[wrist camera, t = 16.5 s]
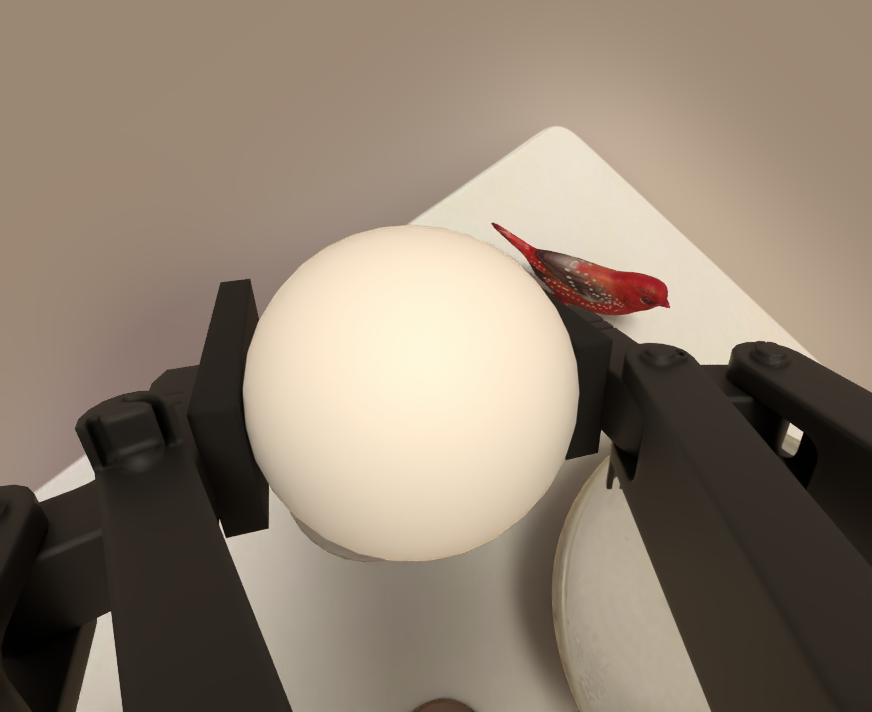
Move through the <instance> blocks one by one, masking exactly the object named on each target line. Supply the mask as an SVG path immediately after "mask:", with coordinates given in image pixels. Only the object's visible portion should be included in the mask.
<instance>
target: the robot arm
mask: <svg viewBox="0 0 872 712" xmlns="http://www.w3.org/2000/svg"><path fill="white" fill-rule="evenodd" d="M540 287H541V286H540ZM541 288H542V287H541ZM542 290H543V291H544V292H545V294H546V295H547V296H548V298H549V299H550V301H551V302H552V303H553V305H554V306H555V307H556V309H557V311H558V313H559V315H560V317H561V319H562V322H563V324H564V326H565V328H566V330H567V332H568V334H569V337H570V341H571V344H572V348H573V351H574V355H575V358H576V362H577V372H578V383H579V400H578V409H577V418H576V425H575V428H574V432H573V435H572V438H571V442H570V445H569V448H568V451H567V454H566V457H565V459H566V460H569V459H573V458H578V457H582V456H586V455H591V454H595V453H598V449H599V441H600V434H601V430H602V431H603V432H604V433H605V434H606V435H607V436H608V437H609V438H610V439H611V440H612V445H611V452H610V459H609V466H608V472H607V479H606V487H607V489H612V486H613V480H614V479H615V478H616V477H617V478H618V481H619V483H620V487H619V489H622V491H623V493H624V496H625V498H626V501H627V503H628V506H629V508H630V511H631V513H632V516H633V518H634V521H635V523H636V526H637V528H638V531H639V533H640V536H641V538H642V541H643V543H644V545H645V548H646V550H647V553H648V555H649V558H650V560H651V563H652V565H653V568H654V570H655V573H656V575H657V578H658V580H659V583H660V585H661V588H662V590H663V593H664V595H665V598H666V600H667V603H668V605H669V608H670V610H671V613H672V615H673V618H674V620H675V623H676V625H677V628H678V630H679V633H680V635H681V638H682V640H683V643H684V645H685V648H686V650H687V653H688V655H689V658H690V660H691V663H692V665H693V668H694V670H695V673H696V675H697V678H698V680H699V683H700V685H701V688H702V690H703V693H704V695H705V698H706V700H707V703H708V705H709V708H710V710H711V712H872V393H871V392H870V391H868V390H866V389H864V388H862V387H860V386H859V385H857V384H855V383H853V382H851V381H850V380H848V379H846V378H844V377H842V376H841V375H839V374H837V373H835V372H833V371H832V370H830V369H828V368H826V367H824V366H822V365H821V364H819V363H817V362H815V361H813V360H812V359H810V358H808V357H806V356H804V355H803V354H801V353H799V352H797V351H794V350H792V349H790V348H787V347H784V346H780V345H778V344H776V343H773V342H767V343H766V342H765V341H757V342H745V343H742V344H738V345H736V346H735V347H734V348H733V349H732V352H731V356H730V360H729V364H728V365H700V364H699V363H698V362H697V361H696V360H695V358H694V357H693V356H691V355H690V354H689V353H687V352H686V351H684V350H683V349H679V348H677V347H674V346H670V345H665V344H658V343H644V344H638V343H637V342H635V341H634V340H632V339H631V338H629V337H628V336H627V335H625V334H624V333H622V332H621V331H619V330H618V329H616V328H613V326H612V325H611V324H609V323H608V322H606V321H603V319H602V318H601V317H599V316H598V315H596V314H595V313H594V312H592V311H590V310H587V309H584V308H582V307H579V306H576V305H569V306H566V305H565V304H564V303H562V302H561V301H560V300H558V299H557V298H556V297H554V296H553V295H551V294H550V293H549V292H547V291H546V290H545V289H543V288H542ZM258 322H259V318H258V313H257V308H256V303H255V299H254V294H253V290H252V285H251V281H250V279H245V280H237V281H229V282H221V283H220V287H219V291H218V294H217V298H216V303H215V306H214V310H213V314H212V318H211V322H210V325H209V329H208V333H207V337H206V341H205V345H204V349H203V353H202V357H201V361H200V364H199V365H196V366H189V367H183V368H177V369H171V370H166V371H165V372H164V373H163V374H162V375H161V376H160V377H159V378H157V379H156V380H155V381H154V382H153V383H152V385H151V387H150V390H149V391H137V392H132V393H127V394H123V395H119V396H116V397H114V398H111V399H108V400H106V401H103V402H101V403H100V404H98V405H96V406H95V407H93V408H91V409H89V410H88V411H87V412H86V413H85V414H84V415H83V416H82V417H80V418H79V419H78V422H77V424H76V427H75V430H76V432H77V435H78V437H79V439H80V441H81V443H82V446H83V448H84V450H85V452H86V455H87V457H88V459H89V461H90V463H91V466H92V468H93V470H94V472H95V480H93V481H92V482H90V483H88V484H86V485H83V486H81V487H79V488H76V489H74V490H72V491H69V492H66V493H64V494H61V495H58V496H56V497H53V498H50V499H48V500H45V501H42V502H38V500H37V498H36V496H35V494H34V493H33V492H32V491H31V490H30V489H29V488H28V487H25V486H19V485H8V486H0V712H76V708H77V704H78V699H79V695H80V691H81V687H82V683H83V678H84V674H85V670H86V666H87V662H88V658H89V653H90V649H91V645H92V641H93V637H94V633H95V628H96V624H97V618H98V617H100V616H102V615H104V614H106V613H108V612H110V611H111V614H112V623H113V631H114V640H115V648H116V656H117V665H118V673H119V681H120V690H121V698H122V707H123V712H293V711H292V709H291V706H290V704H289V701H288V699H287V696H286V694H285V691H284V689H283V686H282V684H281V681H280V679H279V676H278V673H277V671H276V668H275V666H274V663H273V661H272V658H271V656H270V653H269V651H268V648H267V646H266V643H265V641H264V638H263V636H262V633H261V630H260V628H259V625H258V623H257V620H256V618H255V615H254V613H253V610H252V608H251V605H250V603H249V600H248V598H247V595H246V593H245V590H244V587H243V585H242V582H241V580H240V577H239V575H238V572H237V570H236V567H235V565H234V562H233V560H232V557H231V555H230V552H229V550H228V547H227V544H226V542H225V539H224V537H223V534H222V532H221V529H220V527H219V519H220V521H221V524H222V527H223V530H224V533H225V536H226V538H229V537H233V536H237V535H242V534H246V533H250V532H255V531H259V530H263V529H268V528H269V483H268V482H267V480H266V478H265V476H264V474H263V473H262V471H261V469H260V467H259V466H258V464H257V462H256V460H255V457H254V454H253V450H252V447H251V444H250V441H249V438H248V434H247V431H246V427H245V417H244V405H243V384H244V376H245V368H246V360H247V353H248V350H249V347H250V344H251V341H252V338H253V335H254V333H255V330H256V327H257V324H258ZM790 423H791V424H793V425H794V426H796V427H797V428H798V429H800V430H801V431H803V432H804V433H803V436H802V439H801V441H800V444H799V447H798V450H797V452H796V453H795V455H794V456H793V455H791V454H789V453H788V452H786V451H785V450H784V449H782V445H783V442H784V439H785V436H786V433H787V430H788V427H789V424H790Z"/></svg>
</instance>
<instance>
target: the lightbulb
mask: <svg viewBox="0 0 872 712" xmlns="http://www.w3.org/2000/svg"><path fill="white" fill-rule="evenodd" d="M578 400H579V383H578V372H577V362H576V358H575V355H574V351H573V348H572V344H571V341H570V337H569V334H568V332H567V330H566V328H565V326H564V324H563V322H562V319H561V317H560V315H559V313H558V311H557V309H556V307H555V306H554V305H553V303H552V302H551V301H550V299H549V298H548V296H547V295H546V294H545V292H544V291H543V290H542V288H541V287H540V285H539V284H538V283H537V282H536V281H535V280H534V279H533V278H532V277H531V276H530V275H529V274H528V273H527V272H526V271H525V270H524V269H523V268H522V267H521V266H520V265H519V264H518V263H517V262H515V261H514V260H513V259H511V258H510V257H508V256H507V255H505V254H504V253H502V252H501V251H499V250H498V249H497V248H495V247H494V246H491V245H489V244H487V243H485V242H483V241H481V240H478V239H476V238H474V237H472V236H470V235H467V234H463V233H459V232H456V231H452V230H448V229H445V228H439V227H428V226H418V225H405V226H392V227H381V228H377V229H373V230H369V231H365V232H361V233H358V234H354V235H351V236H349V237H347V238H345V239H342V240H340V241H338V242H336V243H334V244H332V245H330V246H328V247H326V248H324V249H323V250H321V251H320V252H319V253H317V254H316V255H314V256H313V257H312V258H310V259H309V260H308V261H306V262H305V263H303V264H302V265H301V266H300V267H299V268H298V269H297V270H296V271H295V272H294V273H293V274H292V276H291V277H290V278H289V279H288V280H287V281H286V282H285V283H284V284H283V285H282V286H281V288H280V289H279V290H278V291H277V293H276V294H275V295H274V297H273V298H272V300H271V302H270V304H269V305H268V307H267V309H266V310H265V312H264V313H263V315H262V317H261V318H260V320H259V322H258V324H257V327H256V330H255V333H254V335H253V338H252V341H251V344H250V347H249V350H248V353H247V360H246V368H245V376H244V384H243V405H244V417H245V427H246V431H247V434H248V438H249V441H250V444H251V447H252V450H253V454H254V457H255V460H256V462H257V464H258V466H259V467H260V469H261V471H262V473H263V474H264V476H265V478H266V480H267V482H268V483H269V485H270V487H271V489H272V490H273V492H274V493H275V494H276V495H277V496H278V497H279V499H280V500H281V501H282V502H283V503H284V504H285V505H286V506H287V508H288V509H289V510H290V511H291V512H292V513H293V514H294V515H295V517H296V518H298V519H299V520H300V521H302V522H303V523H304V524H306V525H307V526H309V527H310V528H311V529H313V530H314V531H315V532H317V533H318V534H319V535H321V536H322V537H324V538H325V539H327V540H329V541H331V542H333V543H336V544H338V545H340V546H342V547H345V548H347V549H349V550H351V551H354V552H356V553H358V554H362V555H367V556H372V557H377V558H381V559H386V560H391V561H431V560H436V559H440V558H445V557H450V556H454V555H459V554H463V553H465V552H468V551H470V550H472V549H474V548H476V547H478V546H481V545H483V544H485V543H487V542H489V541H492V540H494V539H495V538H497V537H498V536H499V535H501V534H502V533H503V532H505V531H506V530H507V529H509V528H510V527H511V526H513V525H514V524H515V523H517V522H518V521H519V520H521V519H522V518H523V517H524V516H525V515H526V514H527V513H528V512H529V511H530V510H531V509H532V507H533V506H534V505H535V504H536V503H537V502H538V501H539V500H540V498H541V497H542V496H543V495H544V494H545V493H546V492H547V490H548V489H549V487H550V486H551V484H552V482H553V480H554V479H555V477H556V475H557V473H558V471H559V470H560V468H561V466H562V464H563V463H564V460H565V457H566V454H567V451H568V448H569V445H570V442H571V438H572V435H573V432H574V428H575V425H576V418H577V409H578Z"/></svg>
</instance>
